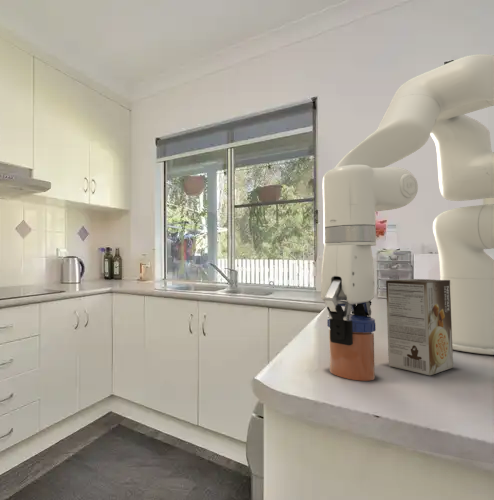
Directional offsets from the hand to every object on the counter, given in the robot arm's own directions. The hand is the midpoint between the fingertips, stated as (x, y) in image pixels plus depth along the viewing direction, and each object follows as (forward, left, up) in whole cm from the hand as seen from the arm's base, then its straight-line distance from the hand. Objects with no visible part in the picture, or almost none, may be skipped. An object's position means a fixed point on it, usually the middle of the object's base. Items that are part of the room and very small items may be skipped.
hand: (351, 339), depth 58 cm
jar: (0, 0, -6) cm, 6 cm away
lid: (0, 0, +3) cm, 3 cm away
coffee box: (-10, +12, -6) cm, 17 cm away
